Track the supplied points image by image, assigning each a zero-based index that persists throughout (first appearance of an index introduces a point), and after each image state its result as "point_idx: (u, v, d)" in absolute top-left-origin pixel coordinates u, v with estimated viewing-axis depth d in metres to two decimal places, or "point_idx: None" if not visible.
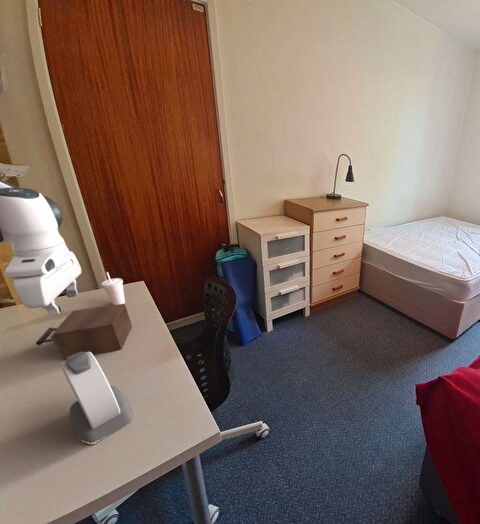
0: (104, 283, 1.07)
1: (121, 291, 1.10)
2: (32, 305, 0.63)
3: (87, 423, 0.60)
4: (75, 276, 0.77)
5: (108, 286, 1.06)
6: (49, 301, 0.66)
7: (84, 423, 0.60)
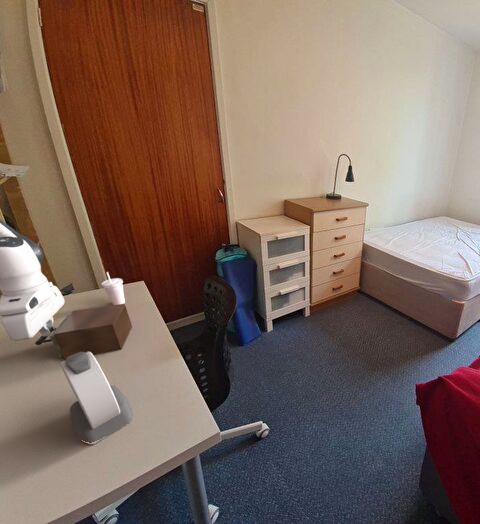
0: (104, 283, 1.07)
1: (121, 291, 1.10)
2: (18, 338, 0.73)
3: (87, 423, 0.60)
4: (58, 308, 0.87)
5: (108, 286, 1.06)
6: (33, 334, 0.76)
7: (84, 423, 0.60)
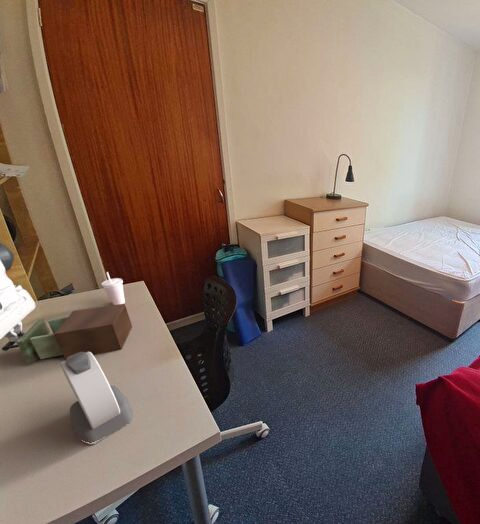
0: (104, 283, 1.07)
1: (121, 291, 1.10)
2: None
3: (87, 423, 0.60)
4: (27, 312, 0.84)
5: (108, 286, 1.06)
6: None
7: (84, 423, 0.60)
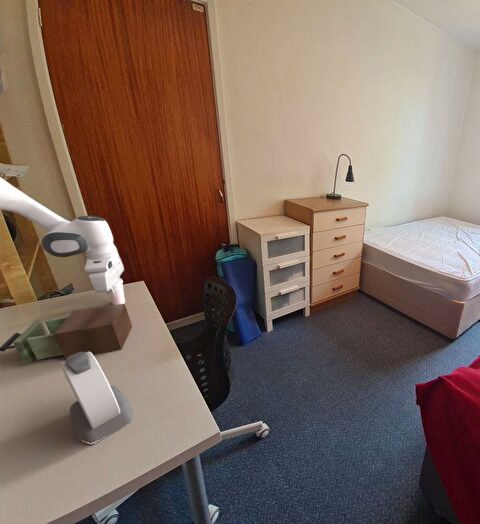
0: None
1: (121, 291, 1.10)
2: (99, 290, 0.99)
3: (87, 423, 0.60)
4: (120, 272, 1.13)
5: None
6: (109, 288, 1.01)
7: (84, 423, 0.60)
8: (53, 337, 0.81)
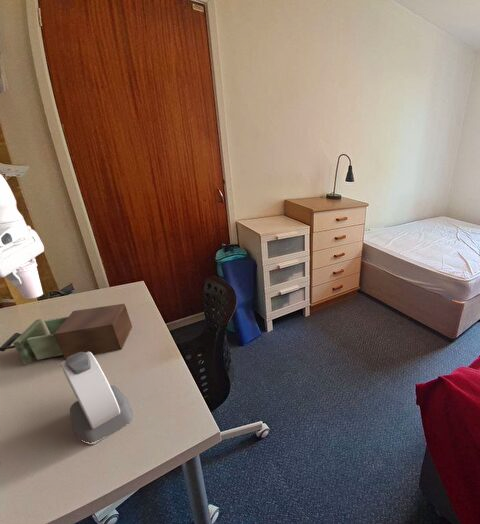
0: None
1: (34, 279, 0.78)
2: None
3: (87, 423, 0.60)
4: (36, 253, 0.81)
5: None
6: (6, 273, 0.70)
7: (84, 423, 0.60)
8: (53, 337, 0.81)
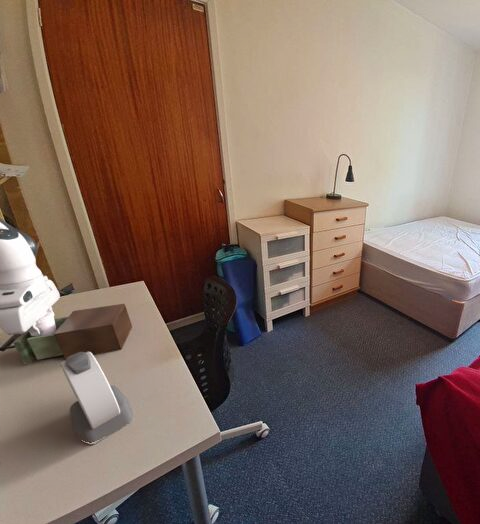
0: None
1: (51, 328, 0.83)
2: (11, 332, 0.72)
3: (87, 423, 0.60)
4: (53, 302, 0.86)
5: None
6: (27, 328, 0.75)
7: (84, 423, 0.60)
8: (53, 337, 0.81)
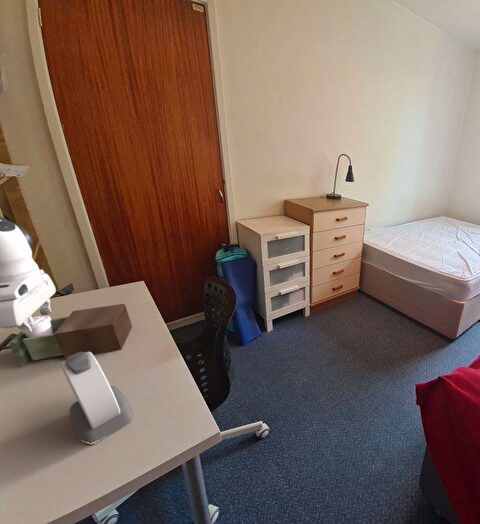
0: None
1: (48, 333, 0.82)
2: (5, 326, 0.71)
3: (87, 423, 0.60)
4: (48, 296, 0.85)
5: None
6: (21, 322, 0.73)
7: (84, 423, 0.60)
8: (49, 338, 0.80)
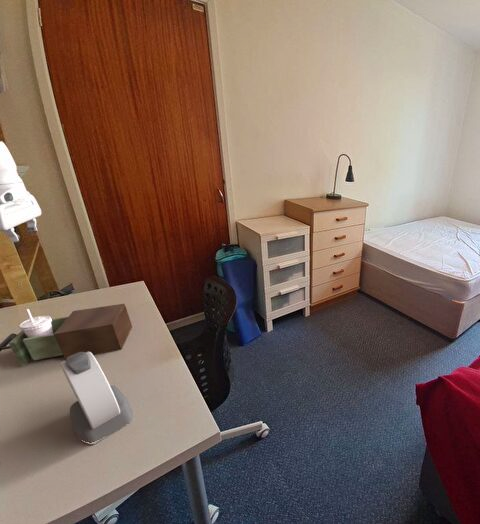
0: (23, 324, 0.79)
1: (48, 334, 0.82)
2: None
3: (87, 423, 0.60)
4: (34, 215, 0.92)
5: (27, 328, 0.78)
6: (8, 227, 0.81)
7: (84, 423, 0.60)
8: (49, 338, 0.80)
